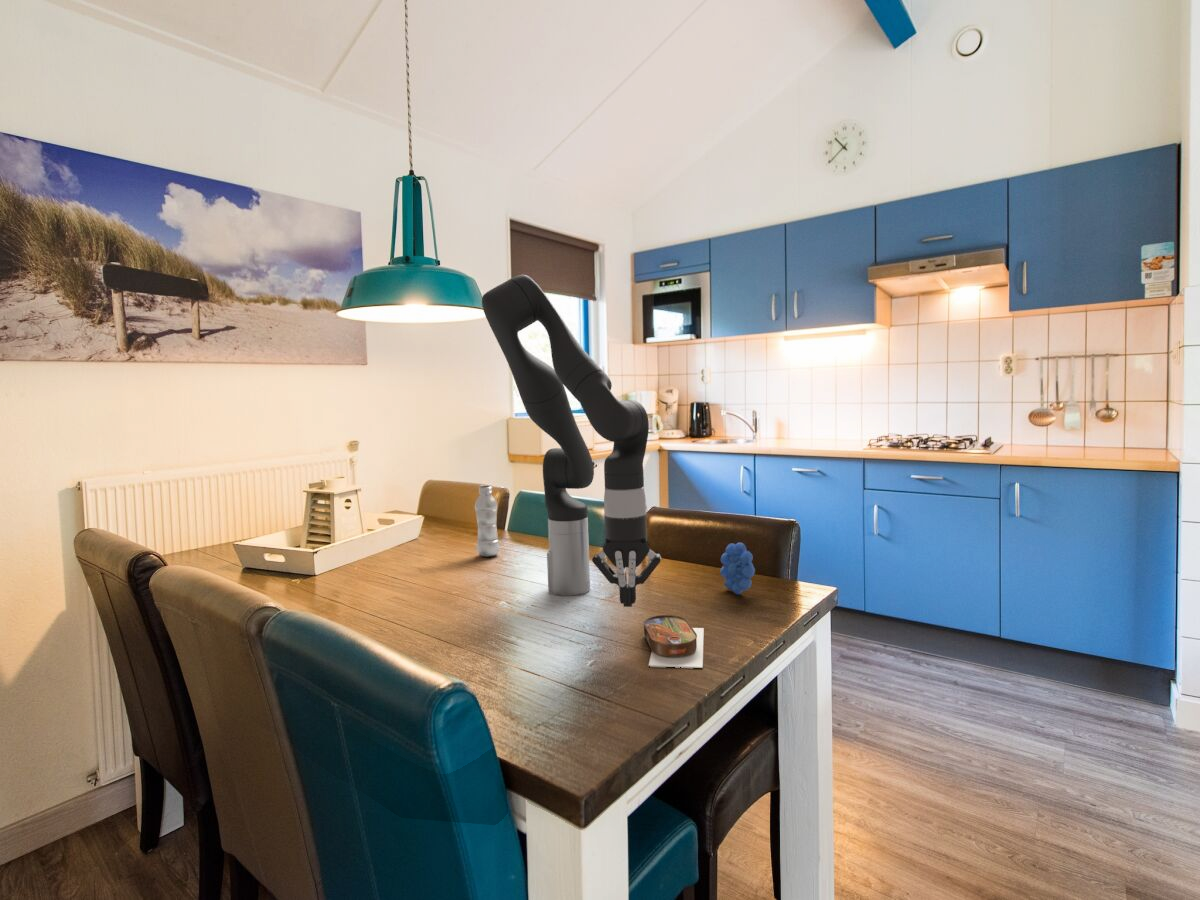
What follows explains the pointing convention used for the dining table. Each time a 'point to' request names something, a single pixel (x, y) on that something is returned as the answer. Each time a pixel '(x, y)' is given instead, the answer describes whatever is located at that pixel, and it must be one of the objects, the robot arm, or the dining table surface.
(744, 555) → the grapes
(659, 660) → the mat
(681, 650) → the tin
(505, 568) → the dining table surface
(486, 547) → the plastic bottle
